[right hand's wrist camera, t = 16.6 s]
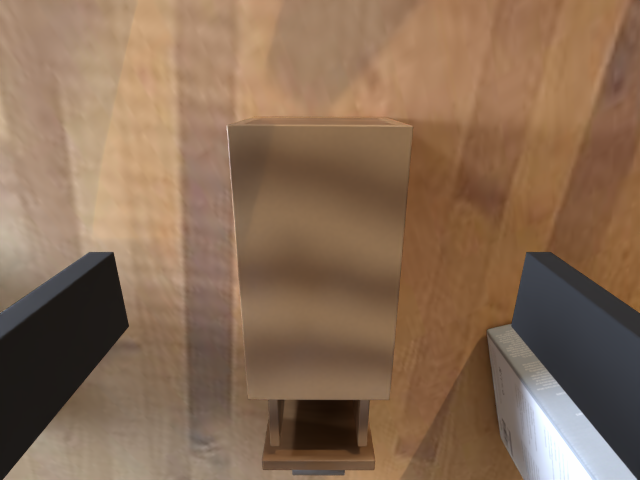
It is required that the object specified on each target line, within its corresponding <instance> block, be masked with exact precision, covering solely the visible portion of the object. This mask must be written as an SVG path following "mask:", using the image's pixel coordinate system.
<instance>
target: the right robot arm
mask: <svg viewBox="0 0 640 480" xmlns="http://www.w3.org/2000/svg"><path fill="white" fill-rule="evenodd" d="M128 327H129V324H128V320H127V315H126V310H125V305H124V300H123V296H122V291H121V286H120V281H119V276H118V272H117V267H116V262H115V257H114V252H89V253H87V254H86V255H85V256H83V257H82V258H80V259H79V260H77V261H76V262H74V263H73V264H71V265H70V266H69V267H67V268H66V269H64V270H63V271H61V272H60V273H58V274H57V275H55V276H54V277H52V278H51V279H50V280H48V281H47V282H45V283H44V284H42V285H41V286H39V287H38V288H36V289H35V290H34V291H32V292H31V293H29V294H28V295H26V296H25V297H23V298H22V299H20V300H19V301H17V302H16V303H15V304H13V305H12V306H10V307H9V308H7V309H6V310H4V311H3V312H1V313H0V480H3V479H4V478H5V476H6V475H7V474H8V473H9V471H10V470H11V469H12V468H13V467H14V465H15V464H16V463H17V462H18V461H19V459H20V458H21V457H22V456H23V454H24V453H25V452H26V451H27V450H28V448H29V447H30V446H31V445H32V443H33V442H34V441H35V440H36V439H37V437H38V436H39V435H40V434H41V433H42V431H43V430H44V429H45V428H46V426H47V425H48V424H49V423H50V422H51V420H52V419H53V418H54V417H55V416H56V414H57V413H58V412H59V411H60V409H61V408H62V407H63V406H64V405H65V403H66V402H67V401H68V400H69V399H70V397H71V396H72V395H73V394H74V392H75V391H76V390H77V389H78V388H79V386H80V385H81V384H82V383H83V381H84V380H85V379H86V378H87V377H88V375H89V374H90V373H91V372H92V371H93V369H94V368H95V367H96V366H97V364H98V363H99V362H100V361H101V360H102V358H103V357H104V356H105V355H106V354H107V352H108V351H109V350H110V349H111V347H112V346H113V345H114V344H115V343H116V341H117V340H118V339H119V338H120V337H121V335H122V334H123V333H124V332H125V330H126V329H127V328H128ZM511 327H512V328H513V329H514V330H515V332H516V333H517V334H518V335H519V337H520V338H521V339H522V340H523V341H524V343H525V344H526V345H527V346H528V347H529V349H530V350H531V351H532V352H533V354H534V355H535V356H536V357H537V358H538V360H539V361H540V362H541V363H542V364H543V366H544V367H545V368H546V369H547V371H548V372H549V373H550V374H551V375H552V377H553V378H554V379H555V380H556V381H557V383H558V384H559V385H560V386H561V388H562V389H563V390H564V391H565V392H566V394H567V395H568V396H569V397H570V399H571V400H572V401H573V402H574V403H575V405H576V406H577V407H578V408H579V409H580V411H581V412H582V413H583V414H584V416H585V417H586V418H587V419H588V420H589V422H590V423H591V424H592V425H593V426H594V428H595V429H596V430H597V431H598V433H599V434H600V435H601V436H602V437H603V439H604V440H605V441H606V442H607V443H608V445H609V446H610V447H611V448H612V450H613V451H614V452H615V453H616V454H617V456H618V457H619V458H620V459H621V461H622V462H623V463H624V464H625V465H626V467H627V468H628V469H629V470H630V471H631V473H632V474H633V475H634V476H635V478H636V479H637V480H640V313H639V312H637V311H636V310H634V309H633V308H631V307H630V306H628V305H627V304H625V303H624V302H623V301H621V300H620V299H618V298H617V297H615V296H614V295H612V294H611V293H609V292H608V291H606V290H605V289H604V288H602V287H601V286H599V285H598V284H596V283H595V282H593V281H592V280H590V279H589V278H588V277H586V276H585V275H583V274H582V273H580V272H579V271H577V270H576V269H574V268H573V267H571V266H570V265H569V264H567V263H566V262H564V261H563V260H561V259H560V258H558V257H557V256H555V255H554V254H553V253H551V252H526V257H525V262H524V267H523V272H522V276H521V281H520V286H519V291H518V296H517V300H516V305H515V310H514V315H513V320H512V324H511Z"/></svg>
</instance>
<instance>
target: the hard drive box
mask: <svg viewBox="0 0 640 480" xmlns="http://www.w3.org/2000/svg"><path fill="white" fill-rule="evenodd" d="M487 339H488V345H489V355H490V362H491V368H492V376H493V384H494V391H495V399H496V409H497V416H498V422H499V429H500V436H501V439H502V441H503V443H504V445H505V447H506V449H507V451H508V452H509V454H510V456H511V458H512V460H513V461H514V463H515V465H516V467H517V469H518V470H519V472H520V474H521V476H522V477H523V479H524V480H637V479H636V478H635V476H634V475H633V474H632V473H631V471H630V470H629V469H628V468H627V467H626V465H625V464H624V463H623V462H622V461H621V459H620V458H619V457H618V456H617V454H616V453H615V452H614V451H613V450H612V448H611V447H610V446H609V445H608V443H607V442H606V441H605V440H604V439H603V437H602V436H601V435H600V434H599V433H598V431H597V430H596V429H595V428H594V426H593V425H592V424H591V423H590V422H589V420H588V419H587V418H586V417H585V416H584V414H583V413H582V412H581V411H580V409H579V408H578V407H577V406H576V405H575V403H574V402H573V401H572V400H571V399H570V397H569V396H568V395H567V394H566V392H565V391H564V390H563V389H562V388H561V386H560V385H559V384H558V383H557V381H556V380H555V379H554V378H553V377H552V375H551V374H550V373H549V372H548V371H547V369H546V368H545V367H544V366H543V364H542V363H541V362H540V361H539V360H538V358H537V357H536V356H535V355H534V354H533V352H532V351H531V350H530V349H529V347H528V346H527V345H526V344H525V343H524V341H523V340H522V339H521V338H520V337H519V335H518V334H517V333H516V332H515V330H514V329H513V328H512V327H511V324H508V325H504V326H500V327H496V328H491V329H488V330H487Z"/></svg>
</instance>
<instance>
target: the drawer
mask: <svg viewBox="0 0 640 480" xmlns="http://www.w3.org/2000/svg"><path fill="white" fill-rule="evenodd" d="M369 401H370V400H268V407H269V420H268V426H267V432H266V439H265V445H264V451H263V458H262V467H263V470H292V474H293V475H344V474H345V470H374V469H375V457H374V450H373V444H372V437H371V430H370V424H369V417H368V416H369Z"/></svg>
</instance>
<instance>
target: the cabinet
mask: <svg viewBox="0 0 640 480" xmlns="http://www.w3.org/2000/svg"><path fill="white" fill-rule="evenodd" d="M227 135H228V148H229V161H230V174H231V187H232V200H233V212H234V225H235V238H236V251H237V264H238V277H239V290H240V302H241V315H242V328H243V341H244V354H245V367H246V380H247V392H248V399H249V400H390V390H391V379H392V367H393V355H394V344H395V332H396V321H397V309H398V298H399V286H400V274H401V263H402V251H403V240H404V228H405V217H406V205H407V193H408V182H409V170H410V159H411V147H412V136H413V126H411V125H409V124H405V123H402V122H399V121H396V120H393V119H389V118H386V117H252V118H249V119H246V120H242V121H239V122H236V123H233V124H229V125H227Z"/></svg>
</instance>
